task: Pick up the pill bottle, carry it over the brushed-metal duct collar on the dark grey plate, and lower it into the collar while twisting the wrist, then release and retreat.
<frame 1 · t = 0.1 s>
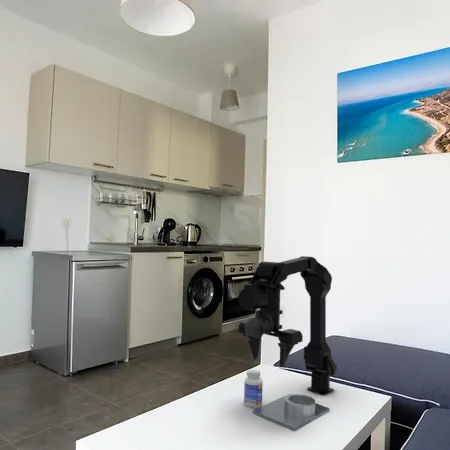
hand: (268, 362, 110), 15 cm above the table, fingers open, 9 cm apart
duct: (299, 413, 112), on the table
pill bottle: (252, 404, 117), on the table
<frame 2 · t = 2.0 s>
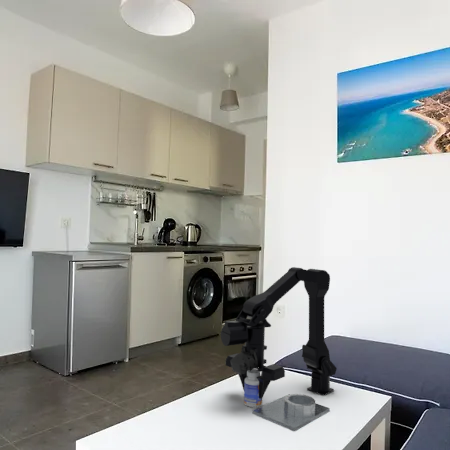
hand: (253, 395, 117), 3 cm above the table, fingers closed on pill bottle, 5 cm apart
pill bottle: (252, 404, 117), on the table, touching gripper
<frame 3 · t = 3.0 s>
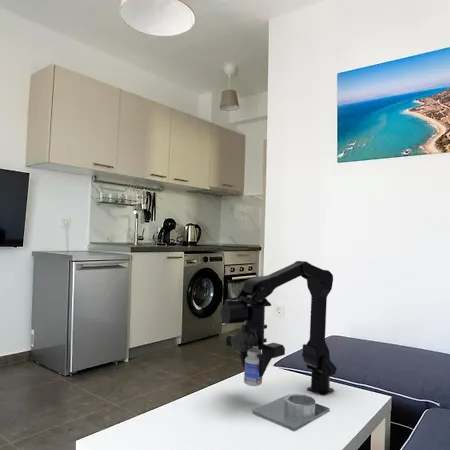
hand: (253, 374, 117), 9 cm above the table, fingers closed on pill bottle, 5 cm apart
pill bottle: (252, 383, 117), point 6 cm above the table, touching gripper
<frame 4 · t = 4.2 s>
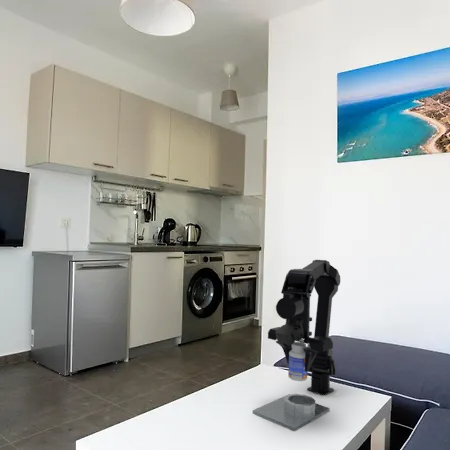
hand: (298, 368, 113), 12 cm above the table, fingers closed on pill bottle, 5 cm apart
pill bottle: (297, 378, 112), point 10 cm above the table, touching gripper
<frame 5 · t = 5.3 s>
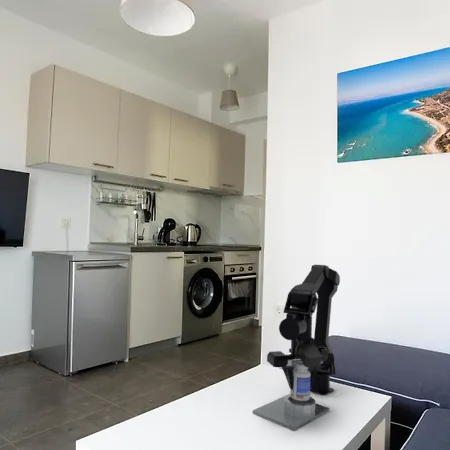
hand: (300, 388, 112), 7 cm above the table, fingers closed on pill bottle, 5 cm apart
pill bottle: (299, 398, 112), point 4 cm above the table, touching gripper
when the fingers open (4 cm above the table, at t = 6.3 s): pill bottle drops 1 cm, resting on duct.
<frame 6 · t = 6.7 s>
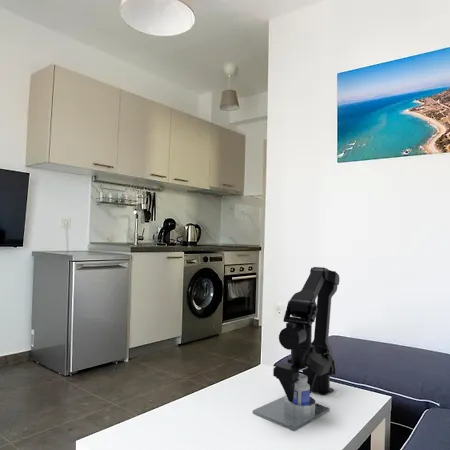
hand: (300, 397, 112), 4 cm above the table, fingers open, 9 cm apart
pill bottle: (299, 411, 112), point 1 cm above the table, touching duct
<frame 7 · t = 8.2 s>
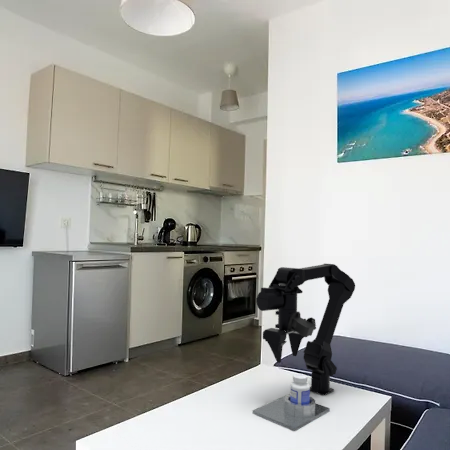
hand: (286, 359, 122), 12 cm above the table, fingers open, 9 cm apart
nothing on the table moved.
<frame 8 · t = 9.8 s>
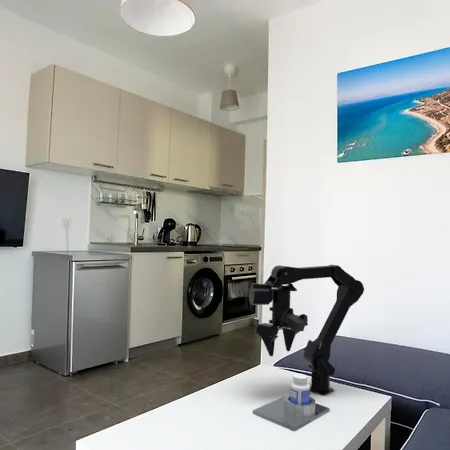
hand: (279, 353, 127), 13 cm above the table, fingers open, 9 cm apart
nothing on the table moved.
at the end: pill bottle 0.0 cm off-centre on the duct, point 0.6 cm above the duct's base; pill bottle tilted 0°; the gripper is holding nothing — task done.
